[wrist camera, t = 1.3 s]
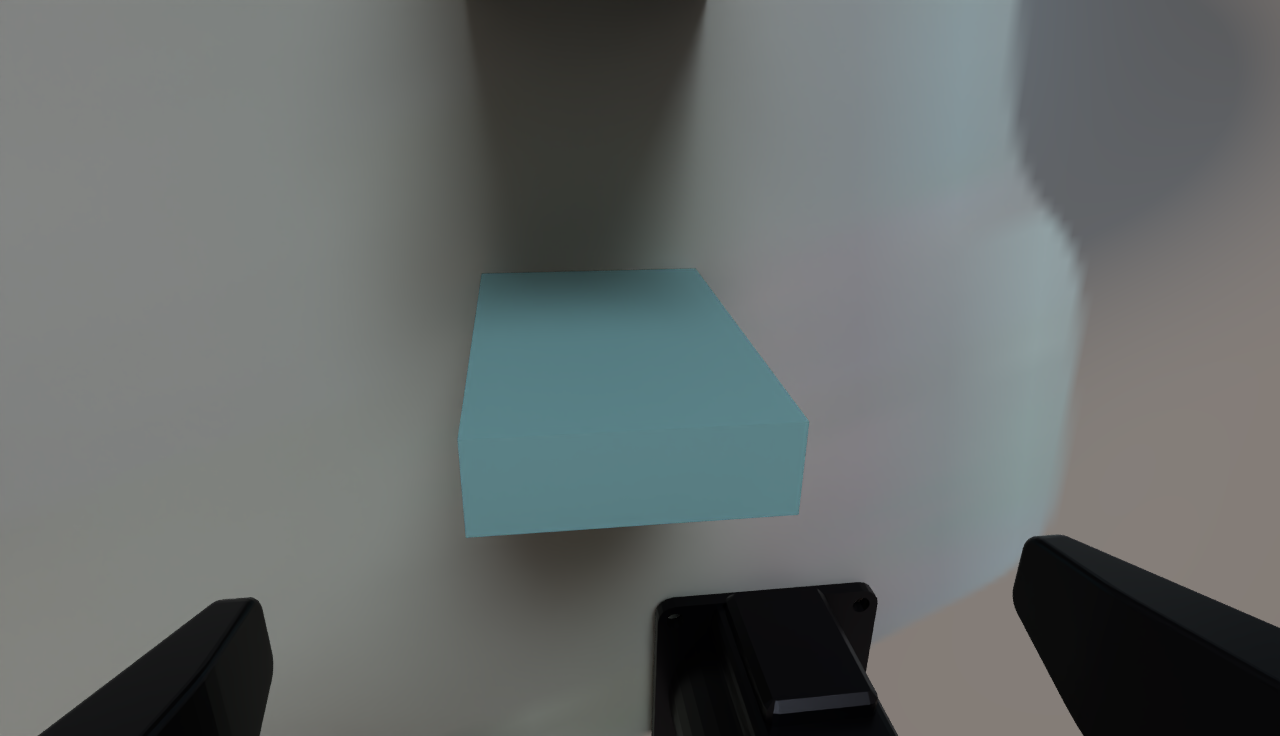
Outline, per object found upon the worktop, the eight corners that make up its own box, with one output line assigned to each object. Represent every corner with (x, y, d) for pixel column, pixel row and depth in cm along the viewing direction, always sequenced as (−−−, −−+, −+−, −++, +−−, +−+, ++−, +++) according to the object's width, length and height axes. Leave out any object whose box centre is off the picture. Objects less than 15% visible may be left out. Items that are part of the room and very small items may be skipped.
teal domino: (692, 331, 19) (798, 514, 12) (486, 338, 19) (465, 538, 11) (695, 268, 19) (809, 421, 11) (481, 273, 18) (457, 440, 11)
